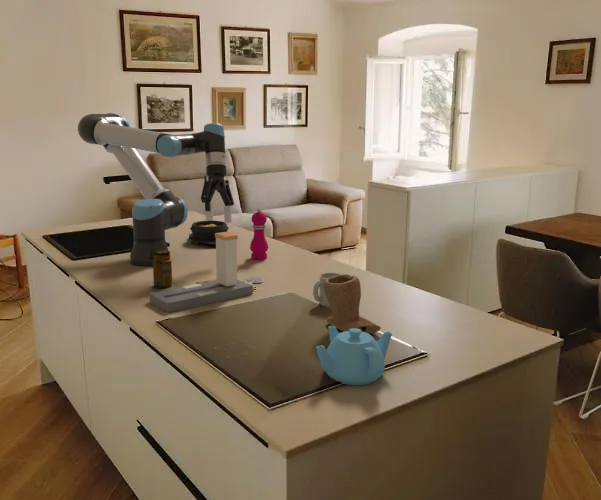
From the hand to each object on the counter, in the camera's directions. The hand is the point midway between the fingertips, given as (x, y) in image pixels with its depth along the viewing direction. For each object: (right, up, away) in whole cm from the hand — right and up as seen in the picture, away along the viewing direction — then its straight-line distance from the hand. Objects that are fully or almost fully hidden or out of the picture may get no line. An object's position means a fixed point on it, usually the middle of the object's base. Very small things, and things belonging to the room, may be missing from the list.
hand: (219, 221), depth 222 cm
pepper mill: (+14, -14, +15) cm, 25 cm away
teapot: (+42, -39, -86) cm, 103 cm away
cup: (+39, -27, -38) cm, 61 cm away
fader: (+7, -21, -30) cm, 37 cm away
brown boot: (+43, -33, -59) cm, 80 cm away
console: (-1, -26, -34) cm, 43 cm away
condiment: (-16, -23, -24) cm, 37 cm away
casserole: (-10, -7, +42) cm, 44 cm away
